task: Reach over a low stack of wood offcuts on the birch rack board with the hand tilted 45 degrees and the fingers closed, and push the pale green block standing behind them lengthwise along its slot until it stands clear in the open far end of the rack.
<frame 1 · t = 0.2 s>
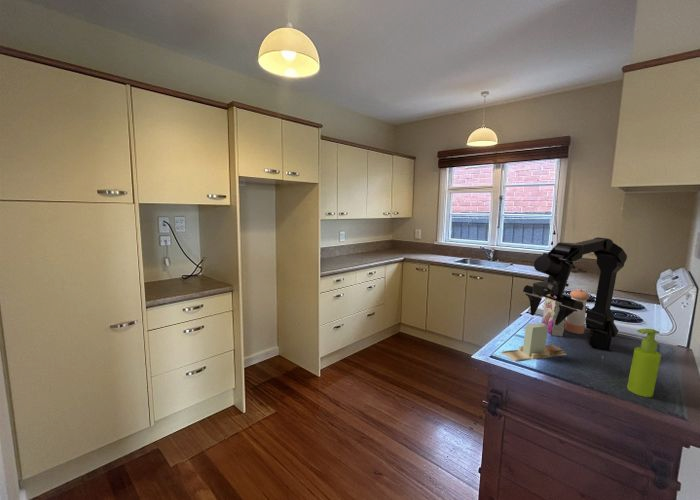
hand: (543, 319, 112), 15 cm above the table, tool tilted 15°, fingers open, 9 cm apart
soap dispenser: (638, 391, 97), on the table
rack: (528, 356, 116), on the table
pale green block: (533, 353, 117), point 1 cm above the table, touching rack
candy bar box: (551, 331, 140), on the table
salt shaker: (573, 330, 142), on the table
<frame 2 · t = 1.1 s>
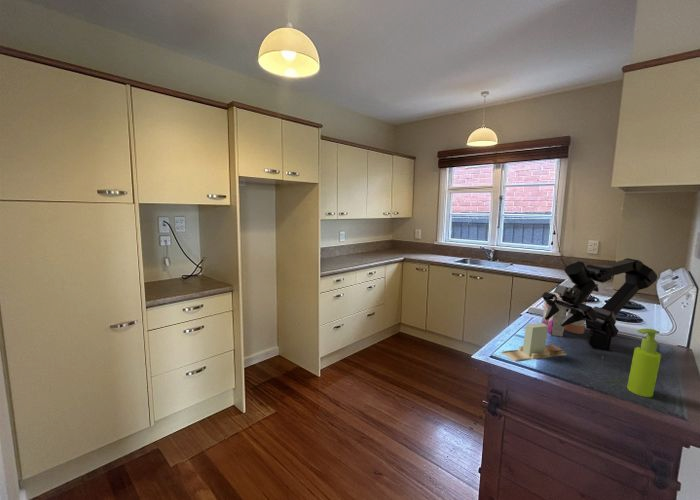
hand: (553, 322, 117), 12 cm above the table, tool tilted 45°, fingers open, 6 cm apart
nothing on the table moved.
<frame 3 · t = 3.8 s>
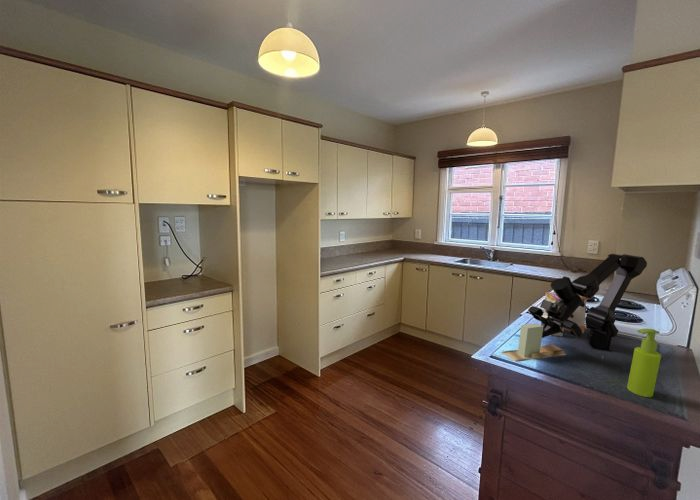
hand: (538, 337, 116), 7 cm above the table, tool tilted 45°, fingers closed, pressing on pale green block
pale green block: (528, 353, 116), point 1 cm above the table, touching gripper
everything else where it was.
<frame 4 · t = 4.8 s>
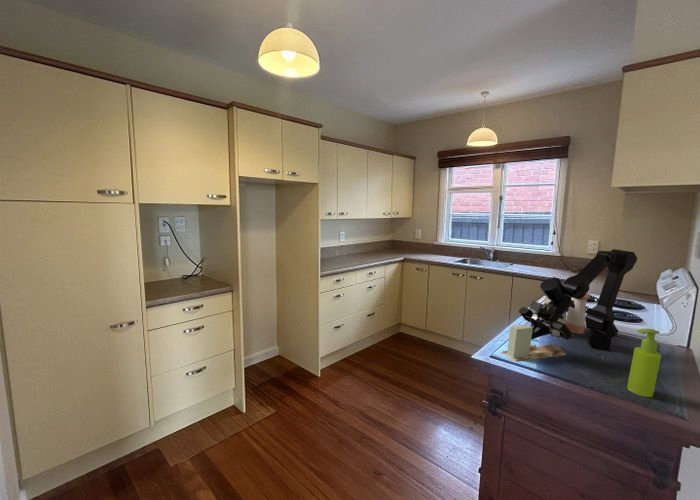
hand: (528, 339, 115), 7 cm above the table, tool tilted 45°, fingers closed, pressing on pale green block
pale green block: (517, 355, 115), point 1 cm above the table, touching gripper, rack
everything else where it was.
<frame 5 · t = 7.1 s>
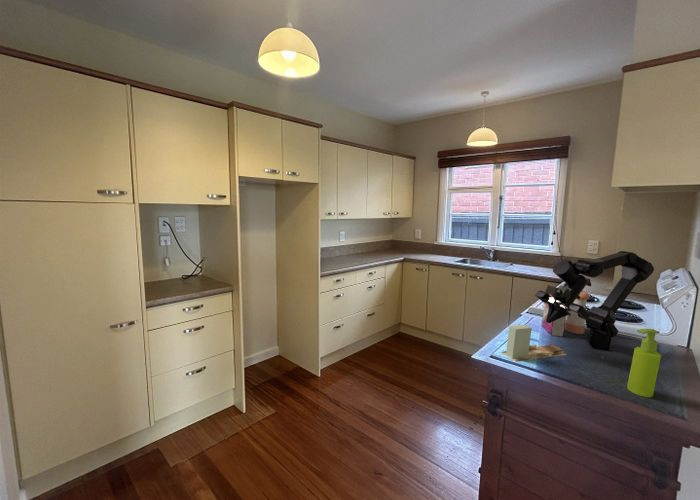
hand: (547, 322, 118), 12 cm above the table, tool tilted 35°, fingers closed
pale green block: (516, 355, 115), point 1 cm above the table, touching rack
everything else where it was.
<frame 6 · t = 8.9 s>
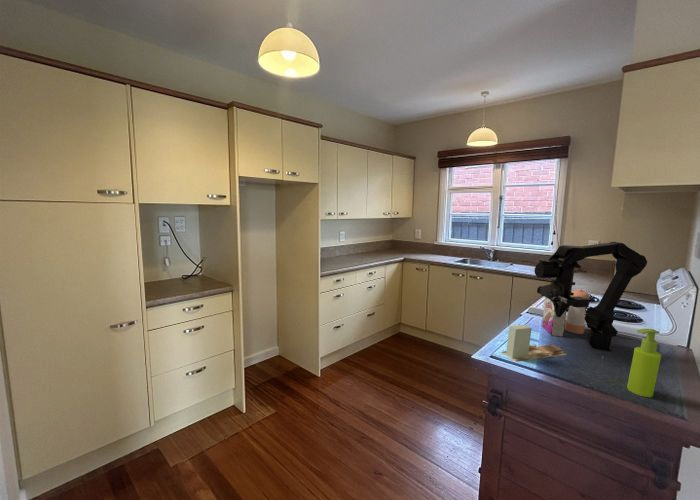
hand: (558, 316, 124), 12 cm above the table, tool pointing down, fingers closed
nothing on the table moved.
at the end: pale green block 1.1 cm from the target spot on the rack, point 1.0 cm above the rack's base; pale green block tilted 0°; pale green block moved 7.5 cm from its start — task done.
